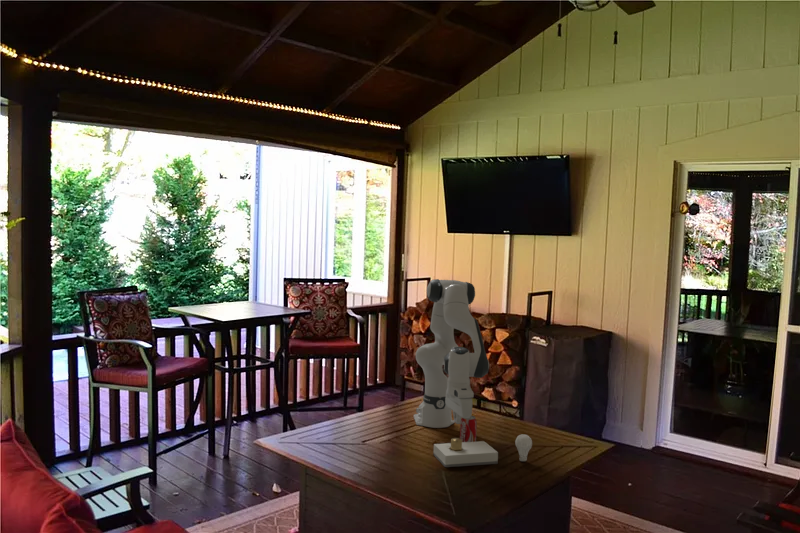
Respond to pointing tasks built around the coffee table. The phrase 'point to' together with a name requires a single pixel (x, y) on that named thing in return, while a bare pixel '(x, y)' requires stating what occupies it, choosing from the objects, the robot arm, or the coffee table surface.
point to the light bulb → (523, 446)
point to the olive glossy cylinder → (456, 444)
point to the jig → (466, 454)
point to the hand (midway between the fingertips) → (457, 423)
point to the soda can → (468, 429)
